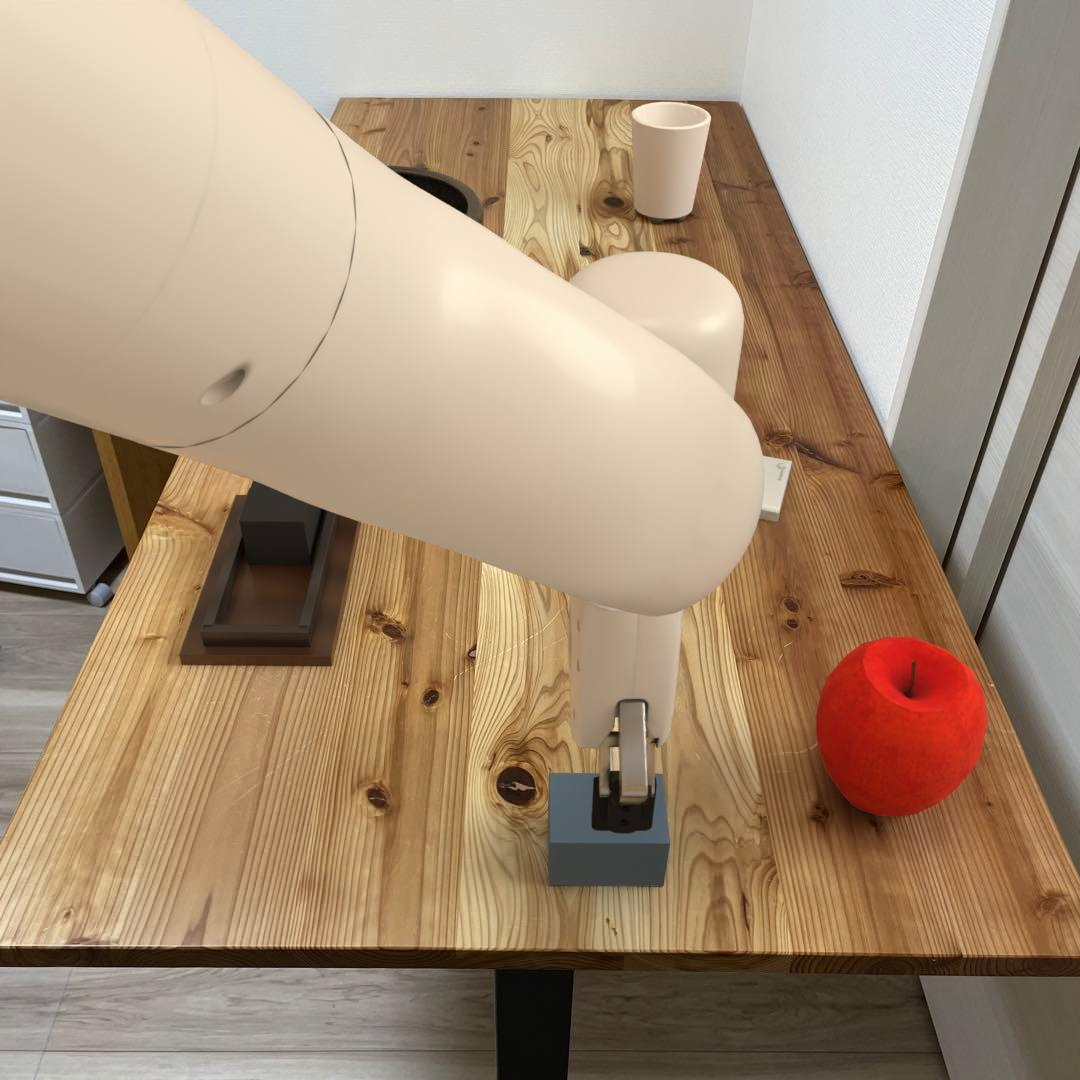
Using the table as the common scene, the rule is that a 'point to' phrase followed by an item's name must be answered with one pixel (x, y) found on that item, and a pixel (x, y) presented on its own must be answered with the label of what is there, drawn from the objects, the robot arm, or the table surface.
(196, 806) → the table surface
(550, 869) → the blue-grey rectangular block
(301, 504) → the pad
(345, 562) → the backing board
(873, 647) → the apple
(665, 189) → the cup
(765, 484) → the hard drive
